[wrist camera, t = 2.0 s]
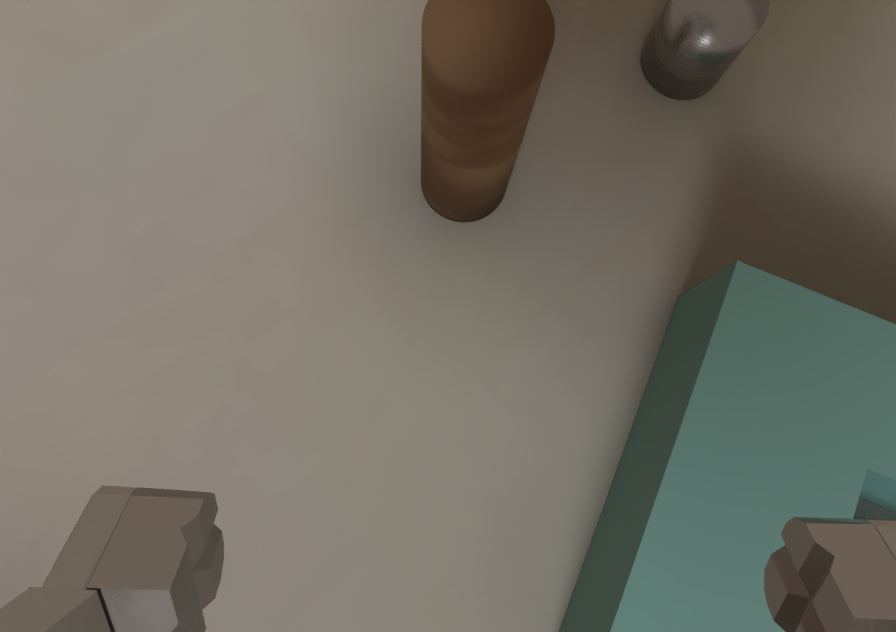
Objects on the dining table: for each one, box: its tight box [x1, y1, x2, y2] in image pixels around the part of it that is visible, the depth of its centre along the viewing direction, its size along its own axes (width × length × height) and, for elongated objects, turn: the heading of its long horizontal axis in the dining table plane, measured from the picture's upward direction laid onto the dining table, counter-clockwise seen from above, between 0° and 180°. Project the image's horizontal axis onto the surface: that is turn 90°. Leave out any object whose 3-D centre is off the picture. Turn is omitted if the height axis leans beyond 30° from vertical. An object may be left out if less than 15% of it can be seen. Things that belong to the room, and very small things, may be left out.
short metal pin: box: [641, 0, 769, 100], centre depth 26 cm, size 3×3×4 cm
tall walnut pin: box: [421, 0, 555, 222], centre depth 22 cm, size 3×3×10 cm
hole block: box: [559, 261, 896, 632], centre depth 23 cm, size 16×14×5 cm
